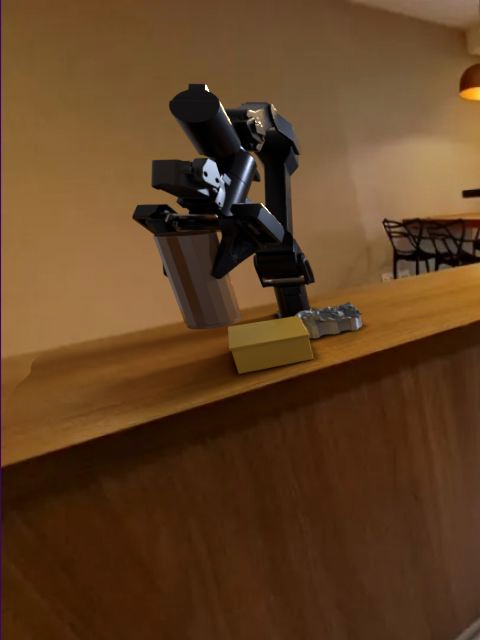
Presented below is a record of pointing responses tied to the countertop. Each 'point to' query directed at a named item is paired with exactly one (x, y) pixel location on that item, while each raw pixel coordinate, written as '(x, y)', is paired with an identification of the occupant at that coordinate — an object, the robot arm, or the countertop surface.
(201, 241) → the brown faceted cup
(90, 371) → the countertop surface
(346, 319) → the grey knobbed block
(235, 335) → the yellow block
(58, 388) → the countertop surface
